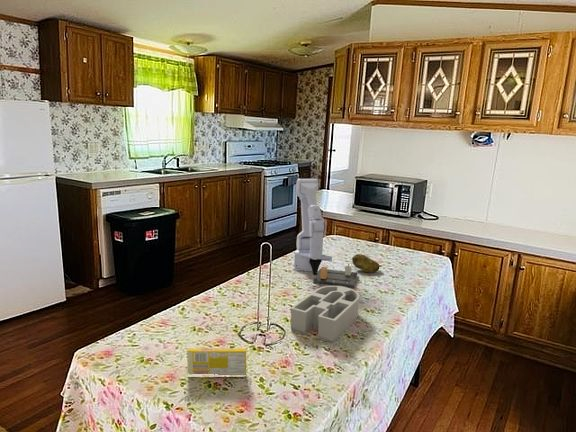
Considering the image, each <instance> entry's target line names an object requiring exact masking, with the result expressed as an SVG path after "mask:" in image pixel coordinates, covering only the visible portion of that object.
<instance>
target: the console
mask: <svg viewBox="0 0 576 432" xmlns="http://www.w3.org/2000/svg"><path fill="white" fill-rule="evenodd" d="M320 277H321V268H318V272H317V275H316V276H315V275H314V279H313V280H312V283H313V284H315V283H317V285H322V286H323V285H324V286H343V287H347V288H350V289H355V285H356V281H357V278H358V272H356V271H355V272H354V271H351V275H350V276H349V275H345V270H336V269H330V268H329V269H328V268H327V278H326V279H320Z"/></svg>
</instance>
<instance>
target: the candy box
mask: <svg viewBox="0 0 576 432" xmlns="http://www.w3.org/2000/svg"><path fill="white" fill-rule="evenodd" d="M186 358H187V374H188V373H189V374H214V375H215V374H218V375H246V376H247V348H237V347H236V348H187V351H186Z"/></svg>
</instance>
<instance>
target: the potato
mask: <svg viewBox="0 0 576 432" xmlns="http://www.w3.org/2000/svg"><path fill="white" fill-rule="evenodd" d="M351 261H352V264H353V266H354V267H355V268H356V269H360V271H362V272H365V273H375V272H378V271H379V270H380V264H379V263H378V262H377V261H375V260H374V259H372V258H370V257H368V256H367V255H365V254H362V253H357V254H355V255H354V256H352V258H351Z"/></svg>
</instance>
